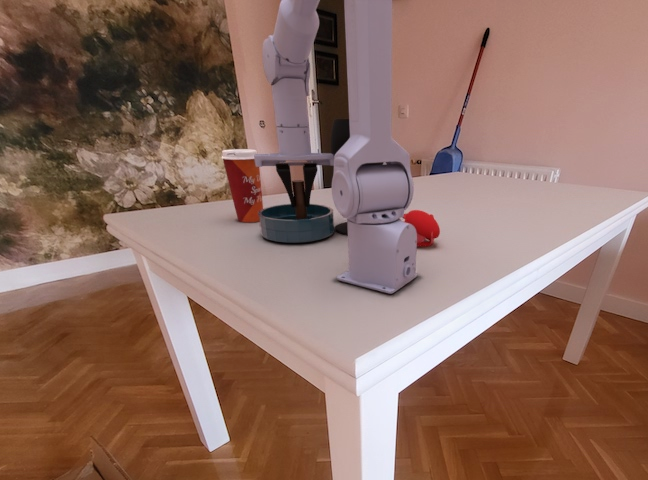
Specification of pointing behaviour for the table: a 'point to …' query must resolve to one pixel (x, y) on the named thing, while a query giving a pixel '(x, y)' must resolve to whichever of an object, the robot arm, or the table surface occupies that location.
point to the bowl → (296, 223)
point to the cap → (423, 226)
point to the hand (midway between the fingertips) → (300, 206)
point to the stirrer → (299, 199)
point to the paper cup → (244, 183)
